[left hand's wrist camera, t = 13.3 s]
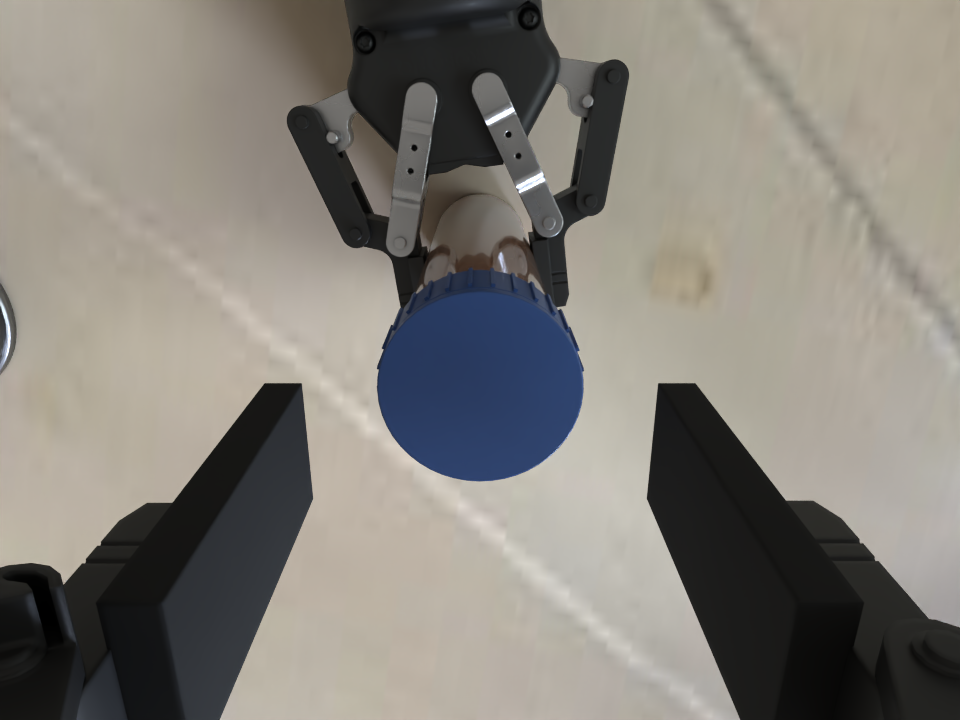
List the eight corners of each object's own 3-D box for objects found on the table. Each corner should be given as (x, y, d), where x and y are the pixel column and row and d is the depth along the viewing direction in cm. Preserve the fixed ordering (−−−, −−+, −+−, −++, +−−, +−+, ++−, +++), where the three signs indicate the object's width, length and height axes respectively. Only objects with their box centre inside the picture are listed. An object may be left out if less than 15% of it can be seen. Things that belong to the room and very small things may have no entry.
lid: (569, 444, 20) (580, 485, 18) (389, 442, 20) (378, 483, 18) (580, 267, 18) (594, 289, 16) (382, 265, 18) (368, 287, 16)
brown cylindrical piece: (523, 282, 37) (566, 466, 18) (436, 281, 37) (391, 464, 18) (525, 194, 35) (577, 296, 17) (435, 193, 35) (385, 294, 16)
